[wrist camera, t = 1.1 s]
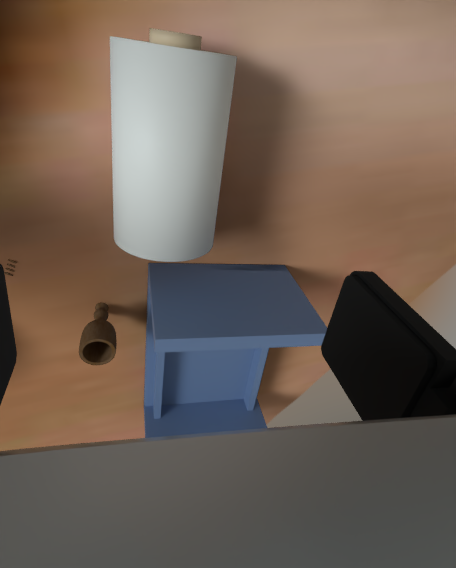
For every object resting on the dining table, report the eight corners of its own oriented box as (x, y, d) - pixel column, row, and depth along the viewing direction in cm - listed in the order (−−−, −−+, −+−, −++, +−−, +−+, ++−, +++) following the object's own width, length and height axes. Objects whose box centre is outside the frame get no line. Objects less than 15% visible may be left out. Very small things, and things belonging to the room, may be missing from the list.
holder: (148, 262, 29) (155, 339, 22) (284, 264, 32) (330, 333, 25) (143, 405, 38) (147, 495, 30) (252, 396, 40) (280, 477, 33)
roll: (107, 22, 21) (111, 20, 16) (220, 41, 23) (256, 44, 18) (112, 226, 27) (116, 271, 22) (200, 226, 29) (222, 269, 24)
